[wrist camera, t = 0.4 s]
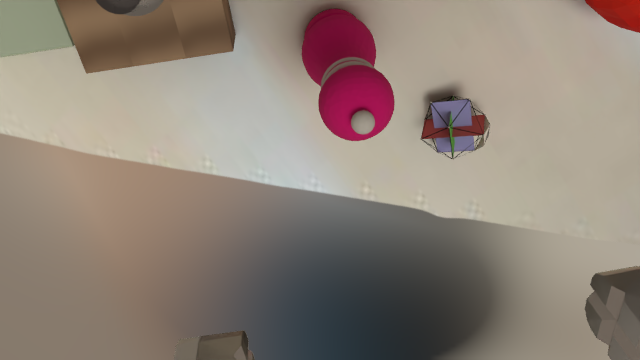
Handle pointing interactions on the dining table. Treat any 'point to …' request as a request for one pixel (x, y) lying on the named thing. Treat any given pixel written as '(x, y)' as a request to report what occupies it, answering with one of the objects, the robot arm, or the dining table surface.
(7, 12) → the mat
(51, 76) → the dining table surface
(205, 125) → the dining table surface
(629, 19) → the tomato
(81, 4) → the block
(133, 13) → the flanged metal shaft
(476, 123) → the geometric puzzle
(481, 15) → the dining table surface
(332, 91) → the pepper mill
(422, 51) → the dining table surface
